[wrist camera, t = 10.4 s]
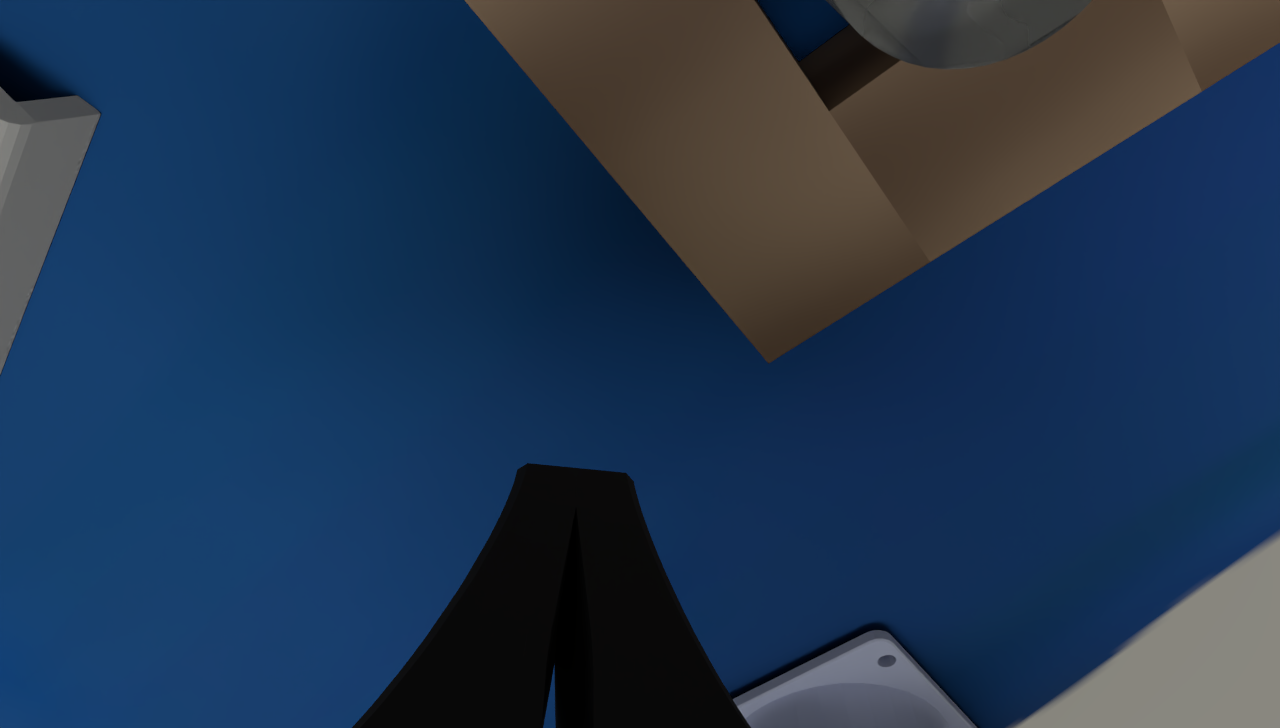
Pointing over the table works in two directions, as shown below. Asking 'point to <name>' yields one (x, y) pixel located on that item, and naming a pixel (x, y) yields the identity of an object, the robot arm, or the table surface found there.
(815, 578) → the table surface
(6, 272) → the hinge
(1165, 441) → the table surface
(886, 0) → the pin
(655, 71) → the block
